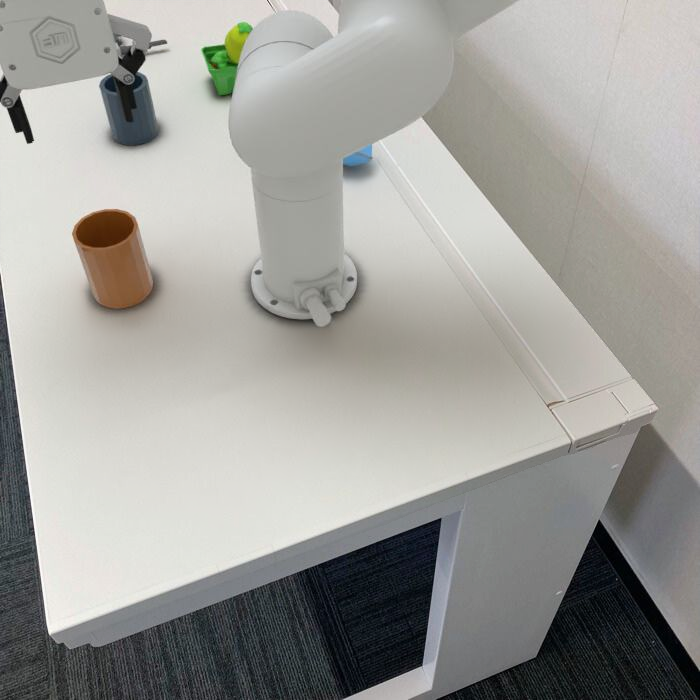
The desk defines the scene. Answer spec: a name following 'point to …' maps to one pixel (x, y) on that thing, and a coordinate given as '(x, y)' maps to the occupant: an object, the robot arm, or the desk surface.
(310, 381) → the desk surface
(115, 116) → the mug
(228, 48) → the fruit basket
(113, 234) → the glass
